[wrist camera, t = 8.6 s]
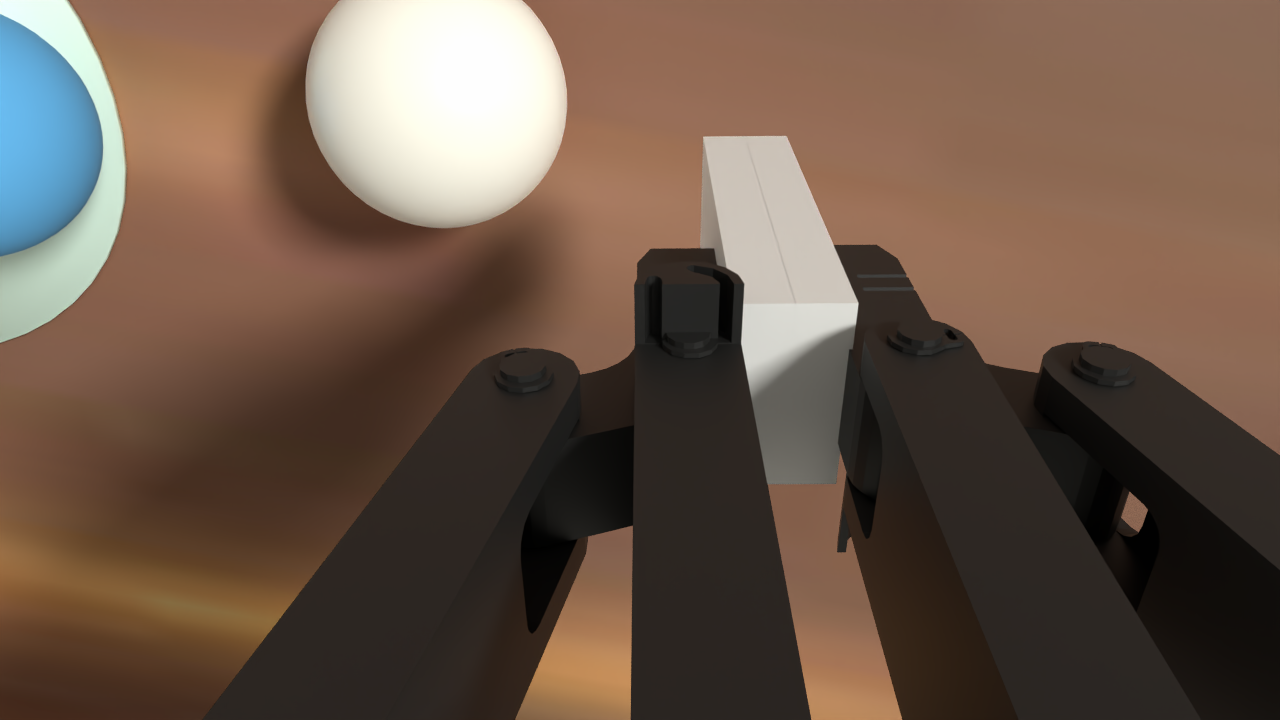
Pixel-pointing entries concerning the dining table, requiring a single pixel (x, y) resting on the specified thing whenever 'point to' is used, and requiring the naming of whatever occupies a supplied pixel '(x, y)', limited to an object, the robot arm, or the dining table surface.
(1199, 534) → the robot arm
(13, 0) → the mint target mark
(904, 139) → the dining table surface
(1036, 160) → the dining table surface
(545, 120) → the white cue ball
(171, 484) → the dining table surface
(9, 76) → the blue object ball
